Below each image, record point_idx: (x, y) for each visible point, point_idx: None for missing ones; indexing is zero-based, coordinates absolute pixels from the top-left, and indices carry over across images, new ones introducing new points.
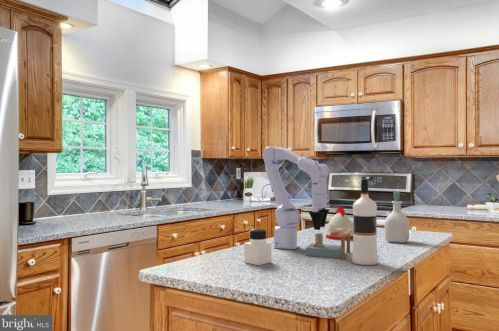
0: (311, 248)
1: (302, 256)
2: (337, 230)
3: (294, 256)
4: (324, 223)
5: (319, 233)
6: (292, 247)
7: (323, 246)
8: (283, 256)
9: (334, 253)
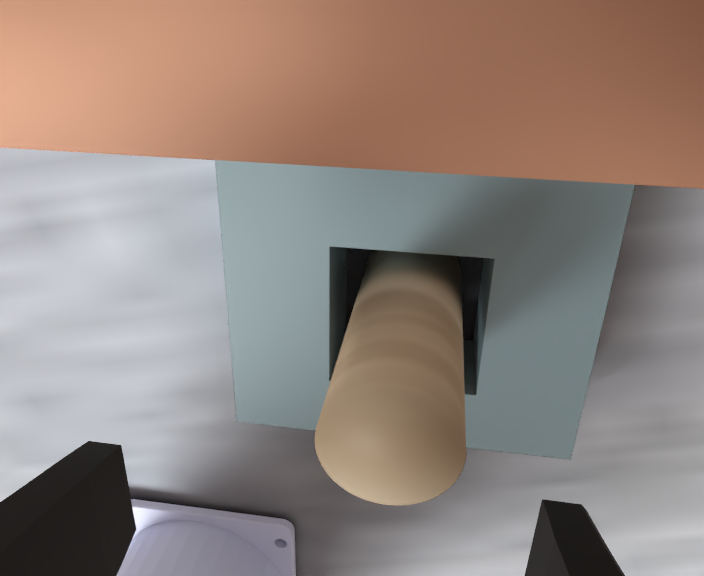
0: (585, 392)
1: (619, 421)
2: (373, 67)
3: (634, 489)
4: (64, 503)
5: (384, 439)
6: (257, 549)
7: (333, 265)
8: (652, 572)
9: None
